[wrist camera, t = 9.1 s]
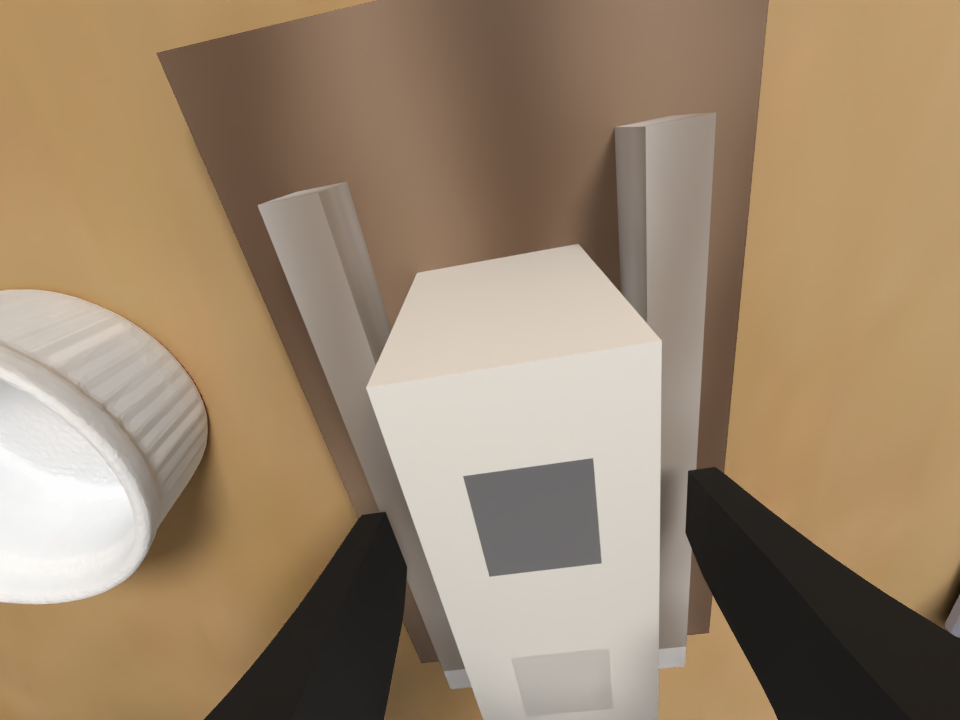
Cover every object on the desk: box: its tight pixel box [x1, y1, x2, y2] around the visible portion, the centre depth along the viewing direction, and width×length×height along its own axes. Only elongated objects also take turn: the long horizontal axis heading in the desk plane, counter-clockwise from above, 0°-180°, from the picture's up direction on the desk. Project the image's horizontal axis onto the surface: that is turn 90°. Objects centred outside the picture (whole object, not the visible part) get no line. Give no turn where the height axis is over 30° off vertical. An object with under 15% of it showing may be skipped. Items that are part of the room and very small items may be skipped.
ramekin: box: [0, 289, 208, 604], centre depth 13 cm, size 9×9×4 cm
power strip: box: [366, 244, 662, 720], centre depth 11 cm, size 4×11×6 cm, turn 10°
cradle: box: [157, 0, 769, 689], centre depth 13 cm, size 12×22×4 cm, turn 10°
